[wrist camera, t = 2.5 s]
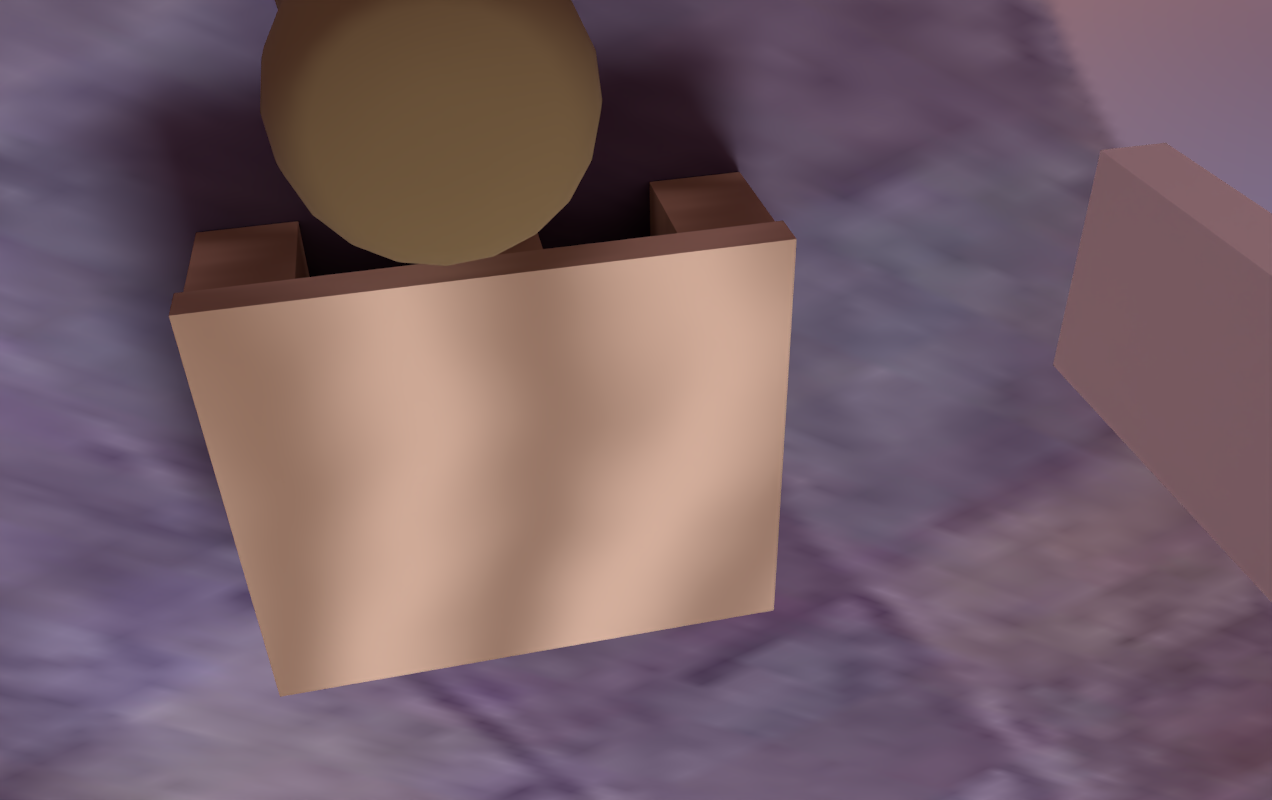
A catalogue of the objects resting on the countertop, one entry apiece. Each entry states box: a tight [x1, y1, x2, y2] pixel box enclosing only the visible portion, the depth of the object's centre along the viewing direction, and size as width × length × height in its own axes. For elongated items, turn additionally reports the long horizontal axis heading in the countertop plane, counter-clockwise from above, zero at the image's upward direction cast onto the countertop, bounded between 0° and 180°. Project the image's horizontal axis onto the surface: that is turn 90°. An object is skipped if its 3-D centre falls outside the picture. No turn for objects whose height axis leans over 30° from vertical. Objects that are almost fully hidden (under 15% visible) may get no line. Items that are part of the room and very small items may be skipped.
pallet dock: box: [169, 172, 796, 697], centre depth 31 cm, size 14×12×4 cm
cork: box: [260, 0, 602, 266], centre depth 21 cm, size 6×6×11 cm
